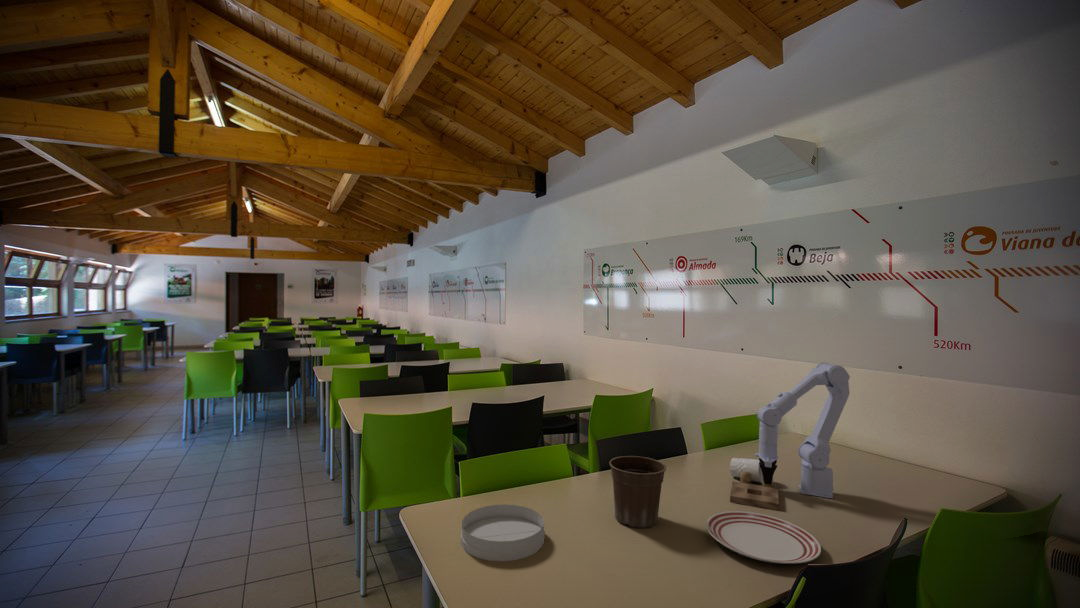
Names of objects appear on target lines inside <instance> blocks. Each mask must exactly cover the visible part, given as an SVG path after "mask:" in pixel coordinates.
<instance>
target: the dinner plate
mask: <svg viewBox="0 0 1080 608" xmlns="http://www.w3.org/2000/svg"><path fill="white" fill-rule="evenodd" d="M705 526H706V527H705V528H706V530H707V532H708V533H709V535H710V537H712V538H713V539H714V540H716V542H718V543H719V544H720V545H722V546H723V547H725V548H727V549H729V550H731V551H732V552H735V553H737V554H739V555H741V556H744V557H747V558H750V559H753V560H757V561H760V562H765V563H770V564H771V563H772V564H785V565H787V564H788V565H789V564H790V565H791V564H793V565H795V564H803V563H808V562H811V561H814V560H816V559H818V558H819V556H820V555H821V553H822V547H821V544H820V542H819V541H818V539H816V538H815V536H813V535H812V534H811V533H809V532H808V531H807V530H806V529H803V528H802V527H800V526H798V525H796V524H795V523H792V522H789V521H787V520H785V519H781V518H778V517H775V516H771V515H768V514H763V513H759V512H758V513H757V512H753V511H742V510H741V511H740V510H738V511H737V510H733V511H732V510H731V511H729V510H728V511H721V512H718V513H715V514H713V515H711V516H709V518H707V520H706V523H705Z"/></svg>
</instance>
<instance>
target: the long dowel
mask: <svg viewBox="0 0 1080 608" xmlns="http://www.w3.org/2000/svg"><path fill="white" fill-rule="evenodd" d="M773 482H774V478H773V479H772V483H771V485H769V484H764V480H763V477H762V483H761V486H765V487H772V488H774V483H773Z"/></svg>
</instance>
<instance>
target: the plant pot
mask: <svg viewBox="0 0 1080 608" xmlns="http://www.w3.org/2000/svg"><path fill="white" fill-rule="evenodd" d="M609 466H610V470H611V478H612V484H613V488H612V489H613V502H614V516H615V520H617V522H619V523H620V524H622V525H625V526H626V525H629V526H630V527H631V528H638V529H639V528H640V529H645V528H646V529H647V528H650V527H653V526H655V525H656V524H657V523H658V518H659V509H660V502H661V501H660V500H661V492H662V484H663V483H664V477H665V472H666V471H667V465H666V464H665V463H663V462H661V461H659V460H657V459H654V458H650V457H645V456H639V455H638V456H637V455H626V456H625V455H624V456H616V457H613V458H611V460H610V461H609Z"/></svg>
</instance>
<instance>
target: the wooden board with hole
mask: <svg viewBox="0 0 1080 608" xmlns="http://www.w3.org/2000/svg"><path fill="white" fill-rule="evenodd" d="M778 490H779V489H778V488H777V487H773V488H772V487H765V486H762V485H758V484H751V483H750V484H746V483H741V481H740V482H738V481H732V483H731V489H730V493H729V502H730V503H735V504H738V505H739V504H741V505H746V506H753V507H757V508H764V509H769V510H775V511H780V502H779V501H780V500H779V491H778Z"/></svg>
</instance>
